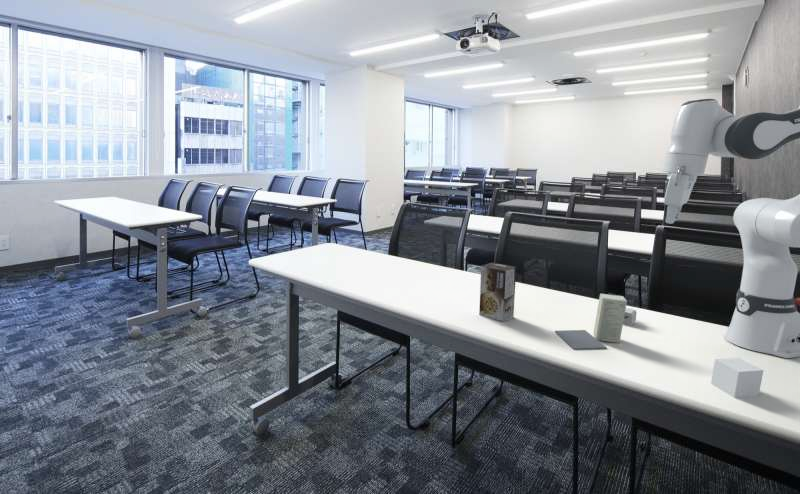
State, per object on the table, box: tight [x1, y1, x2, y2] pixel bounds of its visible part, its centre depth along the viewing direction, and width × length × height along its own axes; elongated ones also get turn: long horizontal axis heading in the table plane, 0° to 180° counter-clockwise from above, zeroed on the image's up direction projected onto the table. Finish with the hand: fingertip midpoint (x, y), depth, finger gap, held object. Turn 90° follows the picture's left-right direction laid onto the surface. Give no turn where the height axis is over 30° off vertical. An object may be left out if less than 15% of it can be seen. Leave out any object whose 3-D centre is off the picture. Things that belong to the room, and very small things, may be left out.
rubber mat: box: [554, 329, 608, 351], centre depth 125 cm, size 9×12×1 cm
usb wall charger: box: [623, 307, 638, 327], centre depth 139 cm, size 4×7×4 cm, turn 139°
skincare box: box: [593, 293, 628, 344], centre depth 124 cm, size 6×4×12 cm
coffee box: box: [478, 262, 517, 322], centre depth 141 cm, size 9×6×16 cm
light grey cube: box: [710, 357, 764, 399], centre depth 98 cm, size 6×6×6 cm
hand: (671, 221), depth 115 cm, fingers open, 8 cm apart
